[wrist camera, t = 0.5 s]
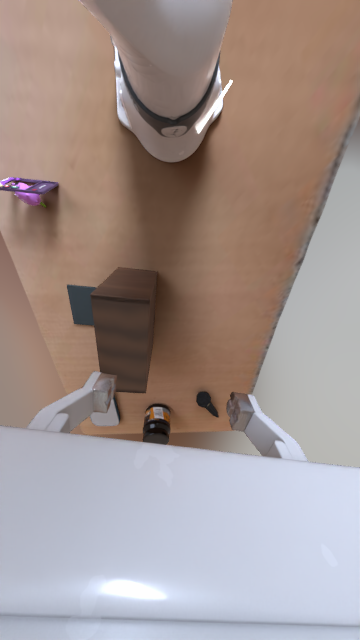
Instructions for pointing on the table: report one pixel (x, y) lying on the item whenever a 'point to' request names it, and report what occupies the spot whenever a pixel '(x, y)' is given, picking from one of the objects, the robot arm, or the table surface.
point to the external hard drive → (107, 416)
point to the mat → (81, 304)
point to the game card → (28, 189)
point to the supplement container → (157, 424)
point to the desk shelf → (125, 326)
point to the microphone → (206, 403)
